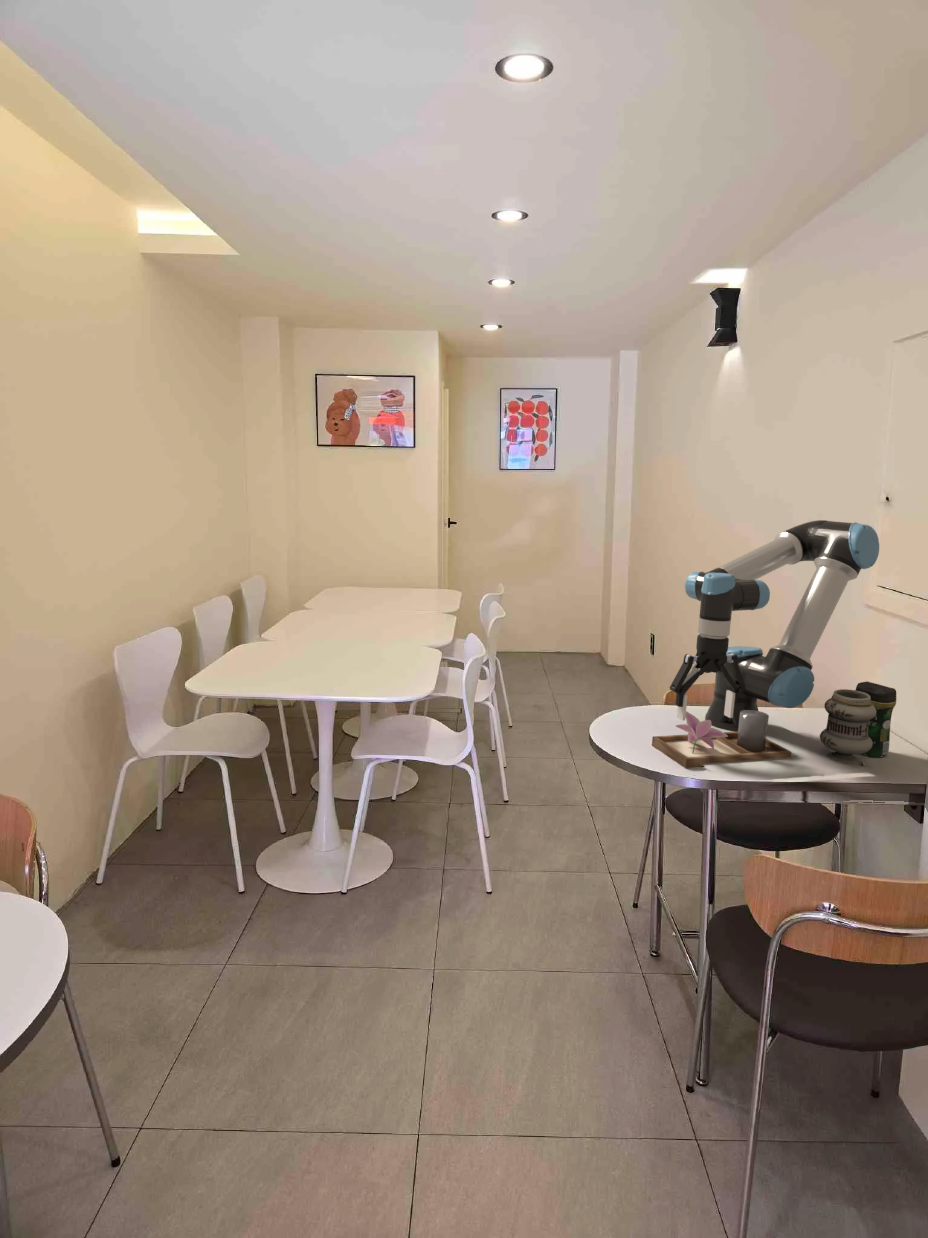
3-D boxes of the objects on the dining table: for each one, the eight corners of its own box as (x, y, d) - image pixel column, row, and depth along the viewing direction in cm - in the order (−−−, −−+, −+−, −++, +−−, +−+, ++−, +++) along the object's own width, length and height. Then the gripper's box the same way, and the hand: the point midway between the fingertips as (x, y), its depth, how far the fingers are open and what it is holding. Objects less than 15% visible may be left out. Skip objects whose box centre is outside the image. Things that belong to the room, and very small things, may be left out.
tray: (750, 739, 217) (751, 730, 216) (790, 761, 201) (791, 751, 201) (651, 745, 209) (652, 736, 208) (685, 768, 193) (686, 759, 193)
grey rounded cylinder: (753, 742, 211) (757, 709, 210) (770, 751, 205) (774, 717, 203) (730, 743, 210) (734, 710, 208) (747, 752, 203) (750, 718, 201)
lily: (730, 761, 199) (735, 724, 201) (697, 748, 193) (703, 710, 196) (693, 760, 209) (699, 725, 212) (661, 748, 204) (667, 711, 206)
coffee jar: (841, 748, 212) (850, 681, 209) (858, 744, 217) (867, 678, 213) (876, 760, 204) (886, 690, 201) (893, 755, 209) (903, 687, 205)
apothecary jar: (818, 765, 199) (827, 696, 195) (815, 750, 210) (824, 684, 207) (872, 773, 195) (882, 702, 191) (866, 757, 206) (875, 690, 203)
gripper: (747, 631, 205) (738, 711, 209) (660, 633, 198) (653, 715, 202) (765, 637, 198) (756, 719, 201) (676, 639, 191) (668, 724, 195)
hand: (704, 717), depth 202 cm, fingers open, 13 cm apart
